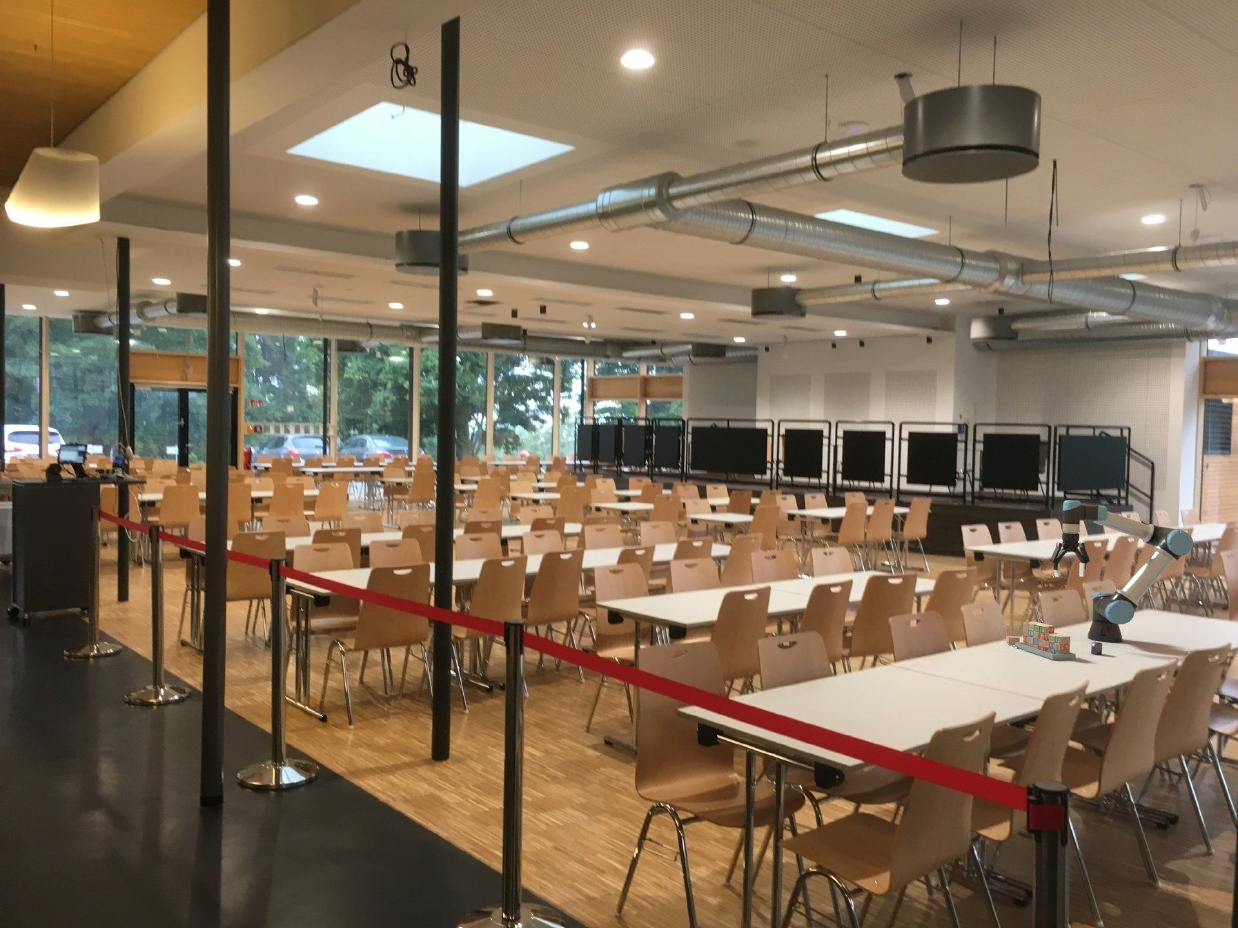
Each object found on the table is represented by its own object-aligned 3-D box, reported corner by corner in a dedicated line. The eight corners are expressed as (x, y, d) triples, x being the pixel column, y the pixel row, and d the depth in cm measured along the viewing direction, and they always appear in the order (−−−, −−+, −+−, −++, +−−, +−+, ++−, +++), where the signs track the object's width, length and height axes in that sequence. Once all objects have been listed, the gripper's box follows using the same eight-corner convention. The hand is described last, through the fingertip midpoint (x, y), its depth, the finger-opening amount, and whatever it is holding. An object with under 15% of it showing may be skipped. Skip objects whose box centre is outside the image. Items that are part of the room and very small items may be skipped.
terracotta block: (1016, 644, 463) (1017, 636, 463) (1019, 646, 459) (1019, 637, 459) (1006, 644, 464) (1006, 635, 464) (1008, 645, 460) (1008, 637, 460)
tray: (1036, 647, 458) (1037, 641, 458) (1075, 659, 432) (1075, 653, 432) (1014, 647, 455) (1015, 642, 455) (1052, 660, 429) (1052, 654, 429)
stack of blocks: (1070, 657, 434) (1070, 629, 434) (1059, 657, 432) (1060, 630, 432) (1032, 647, 454) (1033, 620, 454) (1022, 648, 452) (1023, 621, 451)
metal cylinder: (1099, 653, 447) (1100, 642, 447) (1103, 655, 443) (1104, 644, 443) (1089, 652, 448) (1090, 641, 447) (1093, 654, 443) (1093, 643, 443)
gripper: (1088, 531, 476) (1086, 575, 476) (1043, 531, 470) (1041, 575, 471) (1098, 533, 468) (1097, 577, 469) (1053, 533, 463) (1051, 578, 463)
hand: (1069, 576), depth 470 cm, fingers open, 13 cm apart
